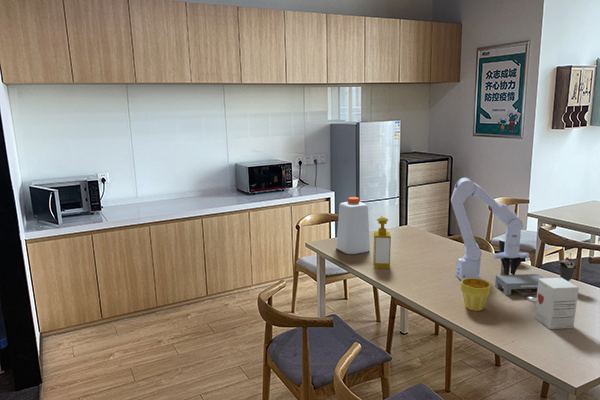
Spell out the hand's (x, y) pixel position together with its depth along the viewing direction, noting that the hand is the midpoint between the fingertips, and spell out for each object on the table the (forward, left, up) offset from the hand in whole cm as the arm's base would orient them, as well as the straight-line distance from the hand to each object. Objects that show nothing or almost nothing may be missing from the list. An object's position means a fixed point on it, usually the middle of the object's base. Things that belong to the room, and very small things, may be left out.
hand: (509, 274), depth 194 cm
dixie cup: (+11, +24, -3) cm, 27 cm away
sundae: (+18, -10, -3) cm, 21 cm away
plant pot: (-26, -24, -3) cm, 36 cm away
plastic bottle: (-60, +48, -3) cm, 77 cm away
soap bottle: (-50, +26, -3) cm, 56 cm away
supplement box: (-4, -38, -3) cm, 39 cm away
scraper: (0, -6, -3) cm, 6 cm away
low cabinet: (0, -10, -3) cm, 11 cm away
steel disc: (0, -19, -3) cm, 19 cm away
